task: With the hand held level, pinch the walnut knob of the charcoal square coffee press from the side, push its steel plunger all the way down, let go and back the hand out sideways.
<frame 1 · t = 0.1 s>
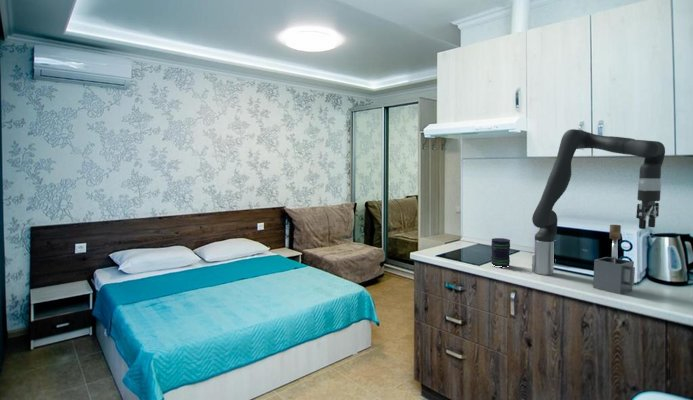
hand: (646, 228, 164), 29 cm above the table, tool pointing down, fingers open, 8 cm apart
storage jar: (500, 266, 221), on the table
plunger: (614, 249, 175), point 18 cm above the table, slide at 6.0 cm
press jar: (612, 289, 177), on the table
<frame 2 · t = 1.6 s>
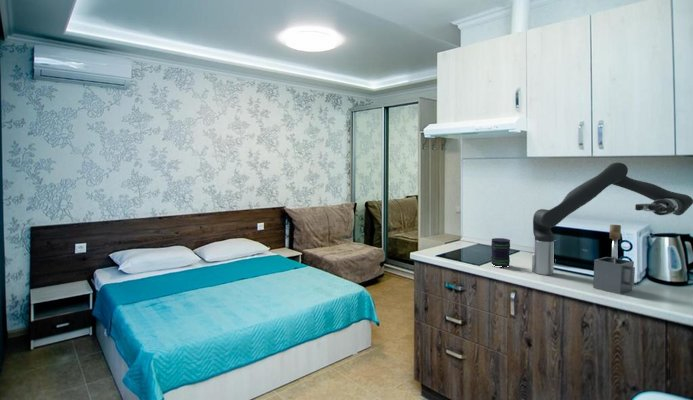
hand: (648, 208, 175), 36 cm above the table, tool horizontal, fingers open, 8 cm apart
nothing on the table moved.
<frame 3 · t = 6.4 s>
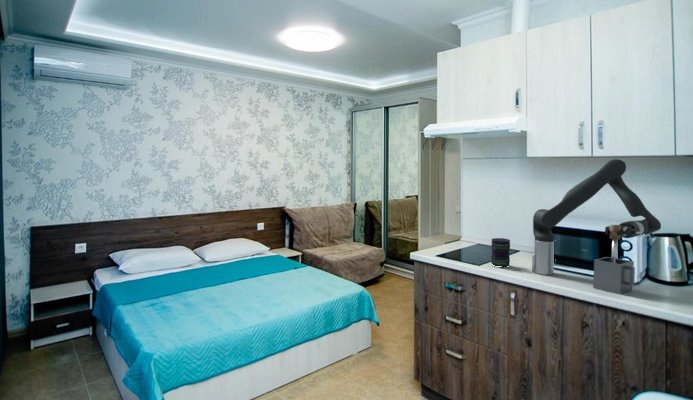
hand: (612, 232, 173), 26 cm above the table, tool horizontal, fingers closed on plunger, 4 cm apart
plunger: (614, 249, 175), point 18 cm above the table, slide at 6.0 cm, touching gripper
everything else where it was.
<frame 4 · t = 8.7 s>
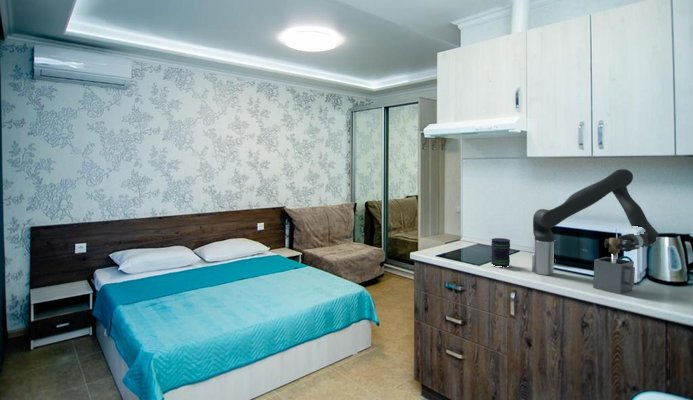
hand: (611, 246, 174), 20 cm above the table, tool horizontal, fingers closed on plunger, 4 cm apart
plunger: (613, 262, 176), point 12 cm above the table, slide at 0.0 cm, touching gripper
everything else where it was.
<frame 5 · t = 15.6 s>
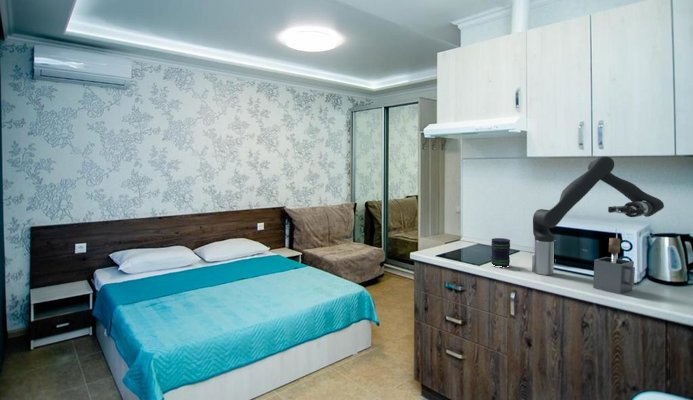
hand: (619, 211, 186), 34 cm above the table, tool horizontal, fingers open, 8 cm apart
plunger: (613, 262, 176), point 12 cm above the table, slide at -0.1 cm
everything else where it was.
at the end: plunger slide at -0.1 cm; the gripper is holding nothing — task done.
